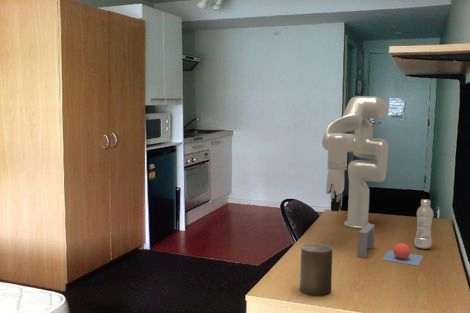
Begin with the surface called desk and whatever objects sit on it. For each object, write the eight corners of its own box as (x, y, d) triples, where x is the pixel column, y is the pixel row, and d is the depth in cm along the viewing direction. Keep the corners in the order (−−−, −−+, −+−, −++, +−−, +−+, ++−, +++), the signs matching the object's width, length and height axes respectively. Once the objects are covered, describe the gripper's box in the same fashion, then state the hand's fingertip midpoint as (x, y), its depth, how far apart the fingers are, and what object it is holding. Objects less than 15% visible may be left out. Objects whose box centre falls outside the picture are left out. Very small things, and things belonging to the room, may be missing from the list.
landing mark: (388, 250, 189) (388, 250, 189) (423, 256, 183) (423, 255, 183) (381, 260, 177) (381, 259, 177) (418, 266, 171) (418, 265, 171)
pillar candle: (336, 295, 144) (338, 246, 142) (305, 297, 142) (307, 248, 140) (323, 283, 153) (325, 238, 152) (295, 285, 151) (296, 239, 150)
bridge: (357, 256, 181) (358, 231, 180) (366, 246, 194) (367, 223, 193) (365, 258, 179) (366, 233, 178) (373, 247, 192) (374, 224, 191)
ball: (413, 244, 179) (410, 259, 180) (397, 240, 182) (394, 255, 183) (409, 247, 174) (406, 262, 175) (393, 242, 178) (390, 257, 178)
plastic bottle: (411, 248, 193) (414, 199, 191) (418, 244, 198) (421, 197, 196) (427, 251, 189) (430, 202, 187) (433, 248, 194) (437, 200, 192)
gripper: (333, 163, 197) (331, 206, 199) (322, 167, 184) (320, 213, 186) (351, 164, 194) (349, 208, 196) (341, 168, 181) (339, 215, 183)
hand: (335, 210), depth 191 cm, fingers closed
